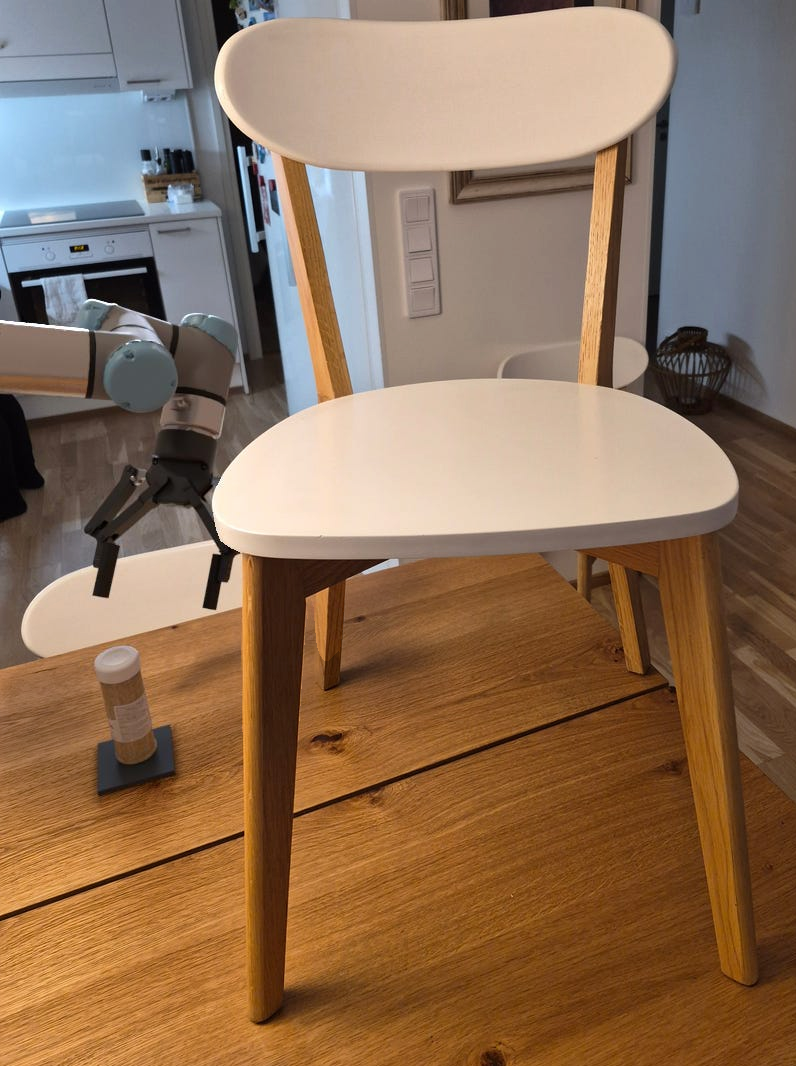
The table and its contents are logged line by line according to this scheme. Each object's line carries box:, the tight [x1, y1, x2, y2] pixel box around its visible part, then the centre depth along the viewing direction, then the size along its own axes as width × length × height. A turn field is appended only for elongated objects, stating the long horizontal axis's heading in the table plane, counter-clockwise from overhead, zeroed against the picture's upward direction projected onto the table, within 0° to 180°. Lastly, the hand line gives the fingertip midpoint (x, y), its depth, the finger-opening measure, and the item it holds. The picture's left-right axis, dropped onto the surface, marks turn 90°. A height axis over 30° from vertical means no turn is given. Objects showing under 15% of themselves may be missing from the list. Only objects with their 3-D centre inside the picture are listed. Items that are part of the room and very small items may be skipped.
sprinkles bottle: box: [93, 645, 157, 764], centre depth 95 cm, size 5×5×14 cm
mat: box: [97, 724, 176, 796], centre depth 97 cm, size 8×8×1 cm
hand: (154, 603), depth 103 cm, fingers open, 13 cm apart
